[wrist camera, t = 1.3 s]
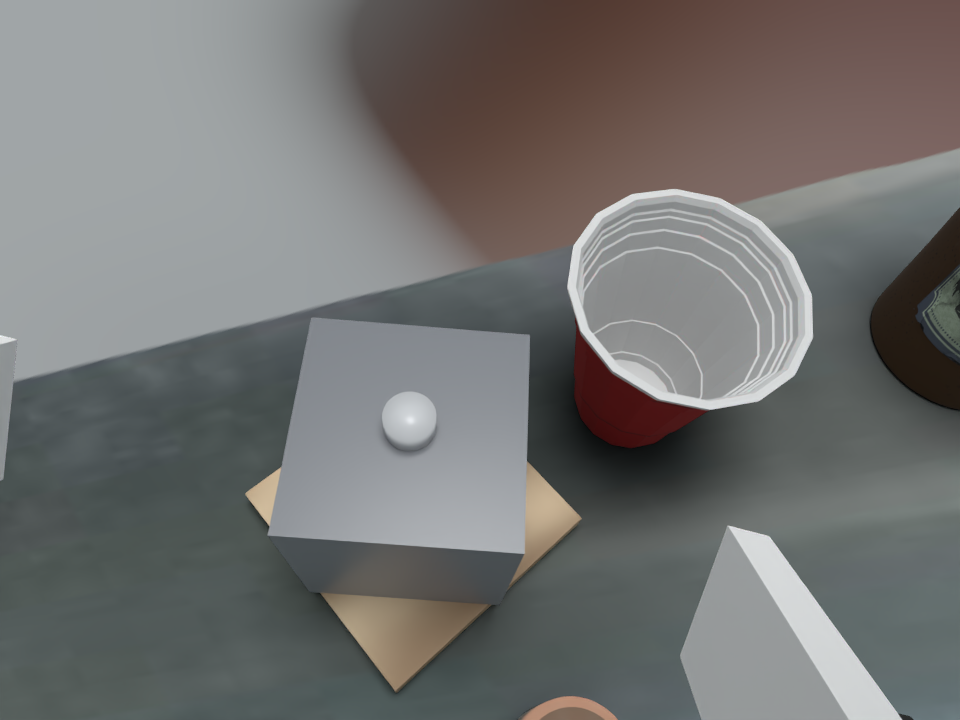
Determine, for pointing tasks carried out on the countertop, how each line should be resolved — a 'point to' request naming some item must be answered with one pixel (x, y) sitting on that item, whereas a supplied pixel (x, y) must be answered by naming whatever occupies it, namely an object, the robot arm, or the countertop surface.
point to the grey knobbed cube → (406, 462)
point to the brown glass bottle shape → (925, 320)
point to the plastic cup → (680, 314)
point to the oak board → (425, 623)
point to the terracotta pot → (568, 710)
